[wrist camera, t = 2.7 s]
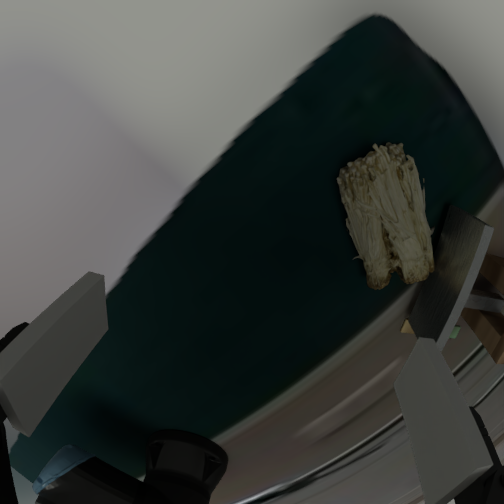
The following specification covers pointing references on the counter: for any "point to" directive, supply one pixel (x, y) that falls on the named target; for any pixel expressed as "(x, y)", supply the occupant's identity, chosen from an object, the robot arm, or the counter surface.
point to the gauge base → (484, 313)
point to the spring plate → (454, 278)
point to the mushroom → (387, 215)
